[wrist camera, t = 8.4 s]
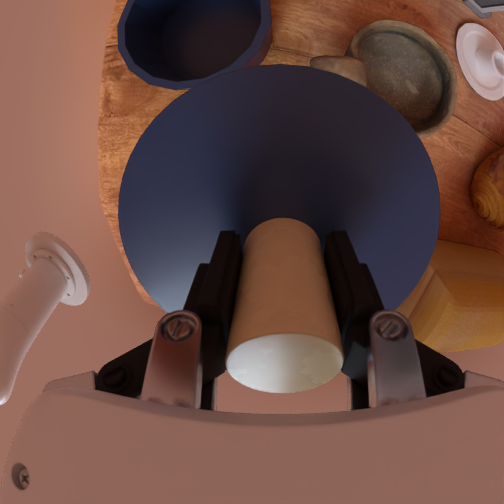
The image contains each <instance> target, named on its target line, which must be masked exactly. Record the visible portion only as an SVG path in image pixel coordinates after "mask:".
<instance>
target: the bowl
mask: <svg viewBox="0 0 504 504" xmlns="http://www.w3.org/2000/svg"><path fill="white" fill-rule="evenodd" d="M310 67H313V68H317V69H321V70H325V71H329V72H333V73H336V74H339V75H341V76H344V77H346V78H348V79H351V80H353V81H355V82H357V83H359V84H362V85H363V86H365V87H367V88H368V89H370V90H371V91H373V92H374V93H376V94H377V95H379V96H380V97H382V98H383V99H385V100H386V101H387V102H388V103H389V104H390V105H391V106H392V107H394V108H395V109H396V110H397V111H398V112H399V113H400V114H401V115H402V116H403V117H404V118H405V119H406V121H407V122H408V123H409V124H410V126H411V127H412V128H413V130H414V131H415V132H416V134H417V135H418V136H419V138H424V137H427V136H429V135H431V134H433V133H435V132H436V131H438V130H439V129H441V128H442V127H443V126H444V125H445V124H446V123H447V122H448V121H449V119H450V117H451V116H452V113H453V111H454V108H455V103H456V99H457V76H456V72H455V68H454V65H453V63H452V62H451V60H450V58H449V57H448V55H447V53H446V52H445V51H444V49H443V48H442V47H441V46H440V45H439V43H438V42H437V41H436V40H435V39H434V38H433V37H431V36H430V35H429V34H428V33H426V32H425V31H424V30H422V29H421V28H419V27H417V26H415V25H413V24H410V23H407V22H403V21H397V20H389V19H381V20H377V21H374V22H372V23H370V24H368V25H366V26H364V27H362V28H361V29H359V30H358V31H357V32H356V33H355V35H354V36H353V38H352V40H351V42H350V45H349V47H348V49H347V51H346V53H345V55H344V56H328V55H324V56H318V57H313V58H312V59H311V60H310Z"/></svg>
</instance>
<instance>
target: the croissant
mask: <svg viewBox="0 0 504 504" xmlns="http://www.w3.org/2000/svg"><path fill="white" fill-rule="evenodd" d="M470 190H471V198H472V202H473V205H474V207H475V209H476V211H477V213H478V215H479V216H482V217H483V218H484V219H485V220H488V221H489V222H490V225H492V226H494V227H497V228H495V229H496V230H497V231H500V232H503V231H504V146H503V147H502V148H500V149H498V151H496V152H494V153H493V154H491V155H490V156H489V157H487V158H485V159H484V160H483V161H482V163H481V165H480V166H479V167H478V168H477V170H476V172H475V174H474V176H473V181H472V183H471V189H470Z"/></svg>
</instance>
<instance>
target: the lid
mask: <svg viewBox="0 0 504 504" xmlns="http://www.w3.org/2000/svg"><path fill="white" fill-rule="evenodd" d="M118 219H119V228H120V235H121V239H122V243H123V247H124V250H125V253H126V256H127V258H128V260H129V263H130V265H131V268H132V269H133V271H134V273H135V275H136V276H137V278H138V280H139V282H140V283H141V285H142V286H143V287H144V289H145V290H146V291H147V293H148V294H149V295H150V296H151V298H152V299H153V300H154V301H155V302H156V303H157V304H158V305H159V306H160V307H161V308H162V309H163V310H164V311H166V312H167V313H170V312H173V311H177V310H183V307H184V305H185V302H186V299H187V296H188V293H189V290H190V288H191V285H192V282H193V279H194V277H195V274H196V271H197V268H198V266H199V264H200V263H210V260H211V257H212V254H213V251H214V248H215V245H216V242H217V239H218V236H219V233H220V231H223V230H235V233H236V234H240V235H241V244H242V261H241V267H240V273H239V278H238V284H237V290H236V296H235V302H234V308H233V314H232V320H231V326H230V332H229V338H228V344H227V350H226V356H225V366H226V368H227V371H228V372H229V374H230V375H231V376H232V377H233V378H234V379H235V380H237V381H238V382H240V383H241V384H243V385H245V386H248V387H250V388H253V389H256V390H261V391H265V392H273V393H292V392H299V391H305V390H309V389H312V388H315V387H318V386H320V385H322V384H324V383H326V382H328V381H330V380H331V379H332V378H334V377H335V376H336V375H337V374H338V372H339V371H340V370H341V368H342V366H343V363H344V352H343V346H342V341H341V335H340V330H339V325H338V319H337V314H336V309H335V305H334V300H333V295H332V291H331V286H330V282H329V277H328V273H327V268H326V264H325V260H324V247H325V238H326V234H331V231H332V230H345V231H346V232H347V234H348V236H349V239H350V241H351V243H352V246H353V248H354V251H355V253H356V256H357V258H358V261H359V263H366V264H367V266H368V268H369V270H370V272H371V275H372V277H373V280H374V282H375V285H376V287H377V290H378V293H379V295H380V298H381V300H382V303H383V306H384V308H385V310H386V309H388V310H394V311H395V310H396V309H397V308H398V307H399V306H400V305H401V304H402V303H403V302H404V301H405V300H406V298H407V297H408V296H409V295H410V294H411V292H412V291H413V290H414V288H415V287H416V286H417V284H418V283H419V281H420V280H421V278H422V276H423V274H424V272H425V271H426V269H427V267H428V265H429V262H430V260H431V257H432V255H433V252H434V249H435V245H436V241H437V237H438V233H439V225H440V194H439V188H438V183H437V178H436V174H435V171H434V168H433V165H432V163H431V160H430V157H429V155H428V153H427V151H426V149H425V147H424V145H423V144H422V142H421V140H420V138H419V136H418V135H417V134H416V132H415V131H414V130H413V128H412V127H411V126H410V124H409V123H408V122H407V121H406V119H405V118H404V117H403V116H402V115H401V114H400V113H399V112H398V111H397V110H396V109H395V108H394V107H392V106H391V105H390V104H389V103H388V102H387V101H386V100H385V99H383V98H382V97H380V96H379V95H377V94H376V93H374V92H373V91H371V90H370V89H368V88H367V87H365V86H363V85H362V84H359V83H357V82H355V81H353V80H351V79H348V78H346V77H344V76H341V75H339V74H336V73H333V72H329V71H325V70H321V69H317V68H313V67H308V66H297V65H284V64H276V65H263V66H253V67H247V68H243V69H239V70H235V71H231V72H228V73H224V74H221V75H219V76H216V77H214V78H212V79H209V80H207V81H205V82H203V83H201V84H198V85H196V86H195V87H193V88H192V89H190V90H189V91H187V92H186V93H184V94H183V95H181V96H180V97H178V98H177V99H175V100H174V101H173V102H172V103H170V104H169V105H168V106H167V107H166V108H165V109H164V110H163V111H162V112H161V113H160V114H159V115H157V116H156V117H155V119H154V120H153V121H152V122H151V124H150V125H149V126H148V127H147V129H146V130H145V131H144V133H143V134H142V135H141V137H140V138H139V140H138V142H137V144H136V146H135V147H134V149H133V151H132V153H131V155H130V157H129V160H128V163H127V165H126V168H125V171H124V174H123V177H122V182H121V187H120V193H119V205H118Z"/></svg>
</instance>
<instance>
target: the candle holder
mask: <svg viewBox="0 0 504 504" xmlns="http://www.w3.org/2000/svg"><path fill="white" fill-rule="evenodd" d="M456 50H457V56H458V60H459V63H460V66H461V69H462V71H463V73H464V75H465V77H466V79H467V81H468V82H469V84H470V85H471V86H472V88H473V89H474V90H475V91H476V92H477V93H478V94H479V95H481V96H482V97H484V98H486V99H488V100H498V99H500V98H502V97H503V96H504V50H503V48H502V46H501V45H500V43H499V42H498V40H497V39H496V38H495V36H494V35H493V34H492V33H491V32H490V31H489V30H487V29H486V28H484V27H483V26H481V25H479V24H476V23H465V24H464V25H463V26H462V27H461V28H459V31H458V34H457V39H456Z"/></svg>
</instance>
